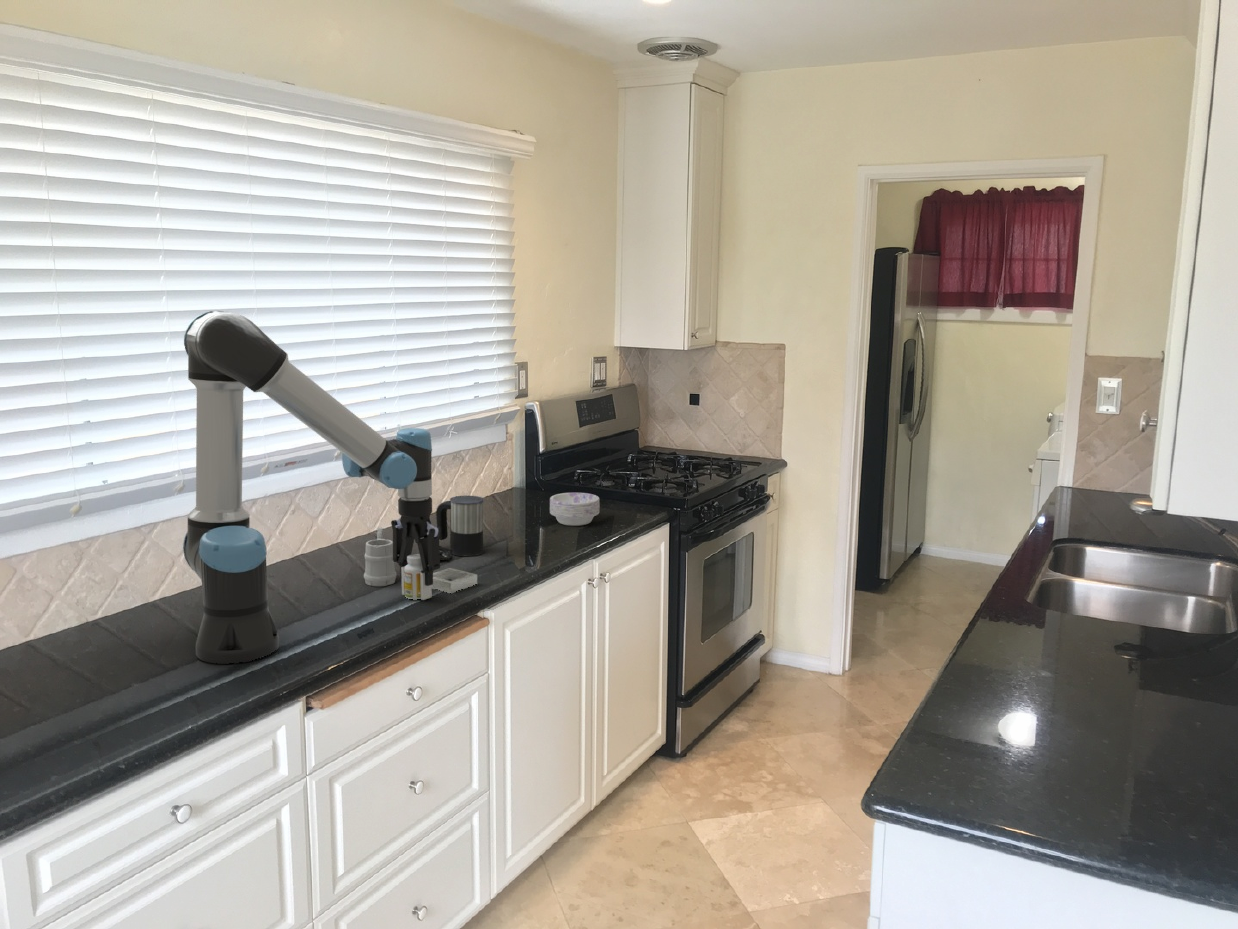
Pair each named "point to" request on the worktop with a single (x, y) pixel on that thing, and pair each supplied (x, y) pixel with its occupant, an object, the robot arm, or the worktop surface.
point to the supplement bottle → (413, 577)
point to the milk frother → (462, 526)
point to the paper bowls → (574, 508)
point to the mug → (379, 561)
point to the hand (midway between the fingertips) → (416, 595)
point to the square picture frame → (459, 580)
